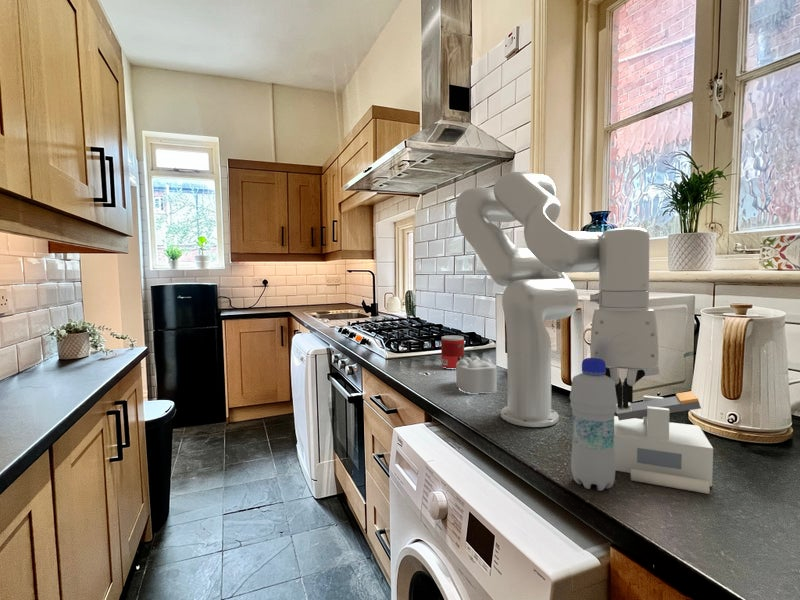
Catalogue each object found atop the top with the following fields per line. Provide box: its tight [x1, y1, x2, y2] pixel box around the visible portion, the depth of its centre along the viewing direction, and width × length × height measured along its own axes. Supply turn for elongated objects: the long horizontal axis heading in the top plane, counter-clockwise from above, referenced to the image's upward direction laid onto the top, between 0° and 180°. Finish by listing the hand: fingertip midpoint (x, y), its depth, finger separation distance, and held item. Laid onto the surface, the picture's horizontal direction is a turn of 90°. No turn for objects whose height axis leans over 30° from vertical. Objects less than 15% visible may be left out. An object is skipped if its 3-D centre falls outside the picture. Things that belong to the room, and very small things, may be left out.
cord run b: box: [630, 468, 711, 494], centre depth 63 cm, size 10×2×2 cm, turn 64°
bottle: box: [569, 357, 617, 492], centre depth 64 cm, size 7×7×20 cm
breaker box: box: [614, 395, 714, 487], centre depth 70 cm, size 10×14×11 cm
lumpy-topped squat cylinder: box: [455, 356, 498, 393], centre depth 119 cm, size 10×13×9 cm
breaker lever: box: [615, 390, 702, 420], centre depth 70 cm, size 5×12×2 cm, turn 64°
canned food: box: [440, 334, 465, 368], centre depth 144 cm, size 8×8×11 cm
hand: (622, 405), depth 72 cm, fingers closed
